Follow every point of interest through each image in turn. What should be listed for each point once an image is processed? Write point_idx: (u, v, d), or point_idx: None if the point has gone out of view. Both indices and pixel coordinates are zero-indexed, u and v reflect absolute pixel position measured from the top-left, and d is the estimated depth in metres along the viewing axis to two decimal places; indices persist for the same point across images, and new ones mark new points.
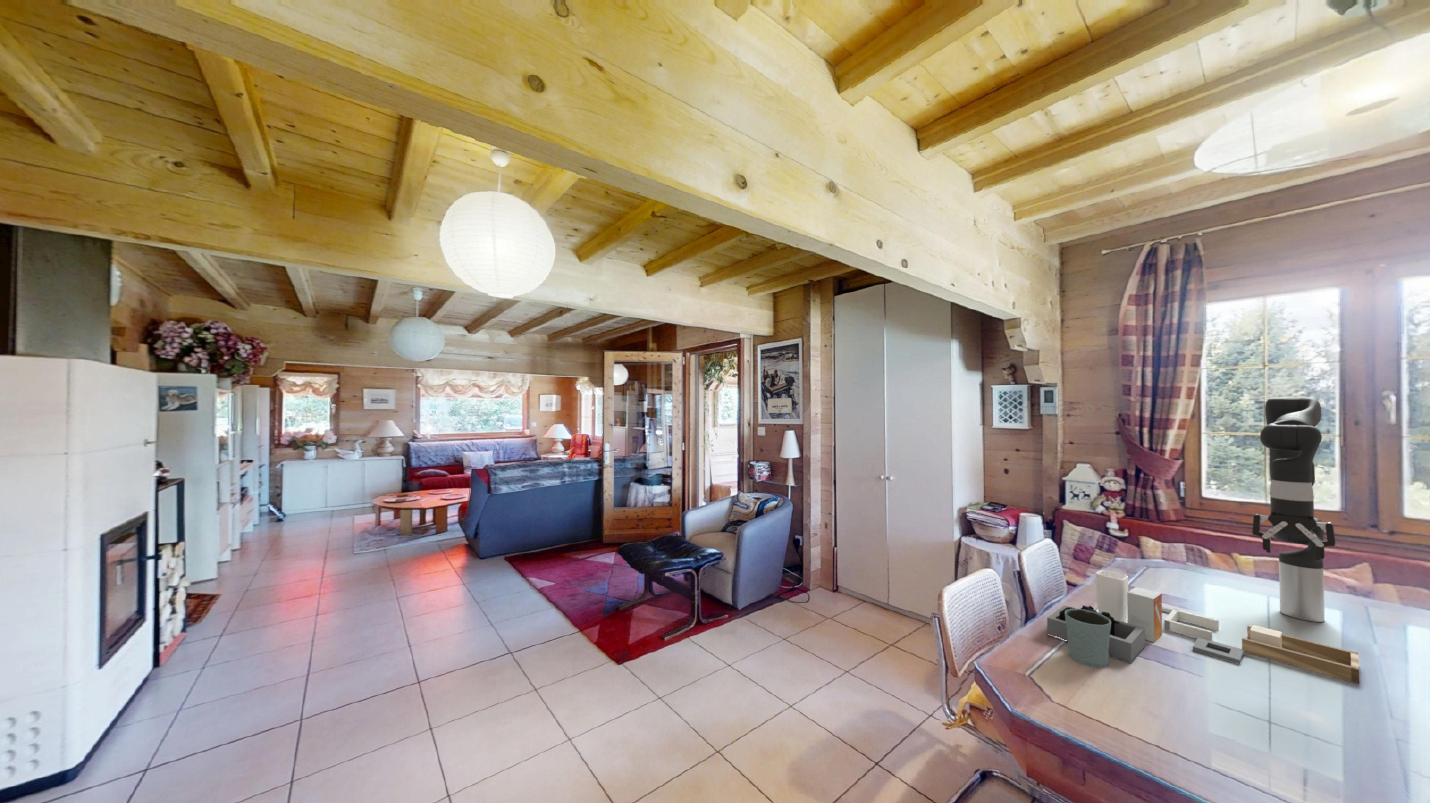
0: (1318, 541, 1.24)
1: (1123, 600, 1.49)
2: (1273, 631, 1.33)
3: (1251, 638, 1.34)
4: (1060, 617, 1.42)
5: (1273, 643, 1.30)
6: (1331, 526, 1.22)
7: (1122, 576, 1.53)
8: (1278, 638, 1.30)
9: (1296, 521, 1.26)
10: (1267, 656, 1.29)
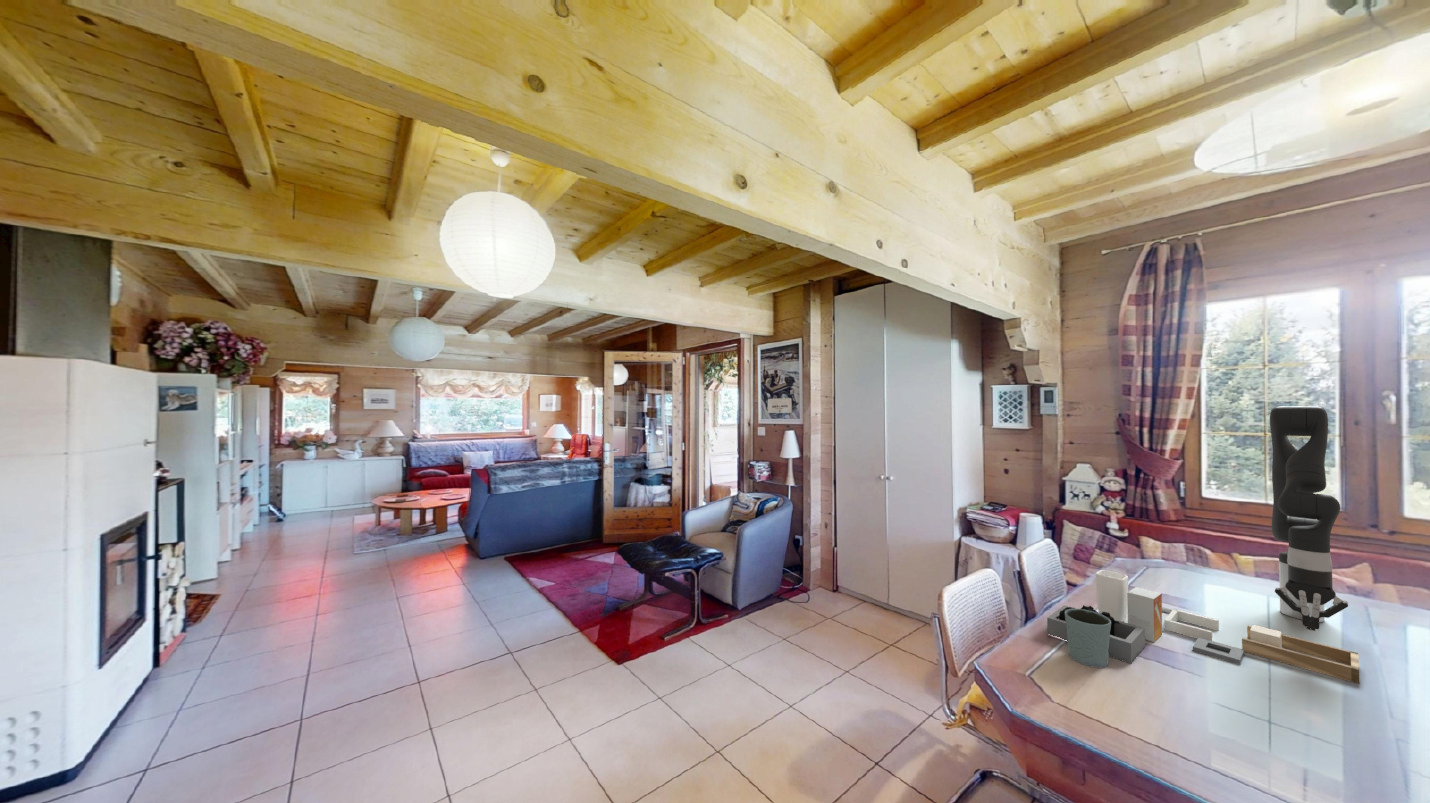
0: (1317, 612, 1.25)
1: (1123, 600, 1.49)
2: (1273, 631, 1.33)
3: (1251, 638, 1.34)
4: (1060, 617, 1.42)
5: (1273, 643, 1.30)
6: (1345, 606, 1.22)
7: (1122, 576, 1.53)
8: (1278, 638, 1.30)
9: (1314, 590, 1.26)
10: (1267, 656, 1.29)
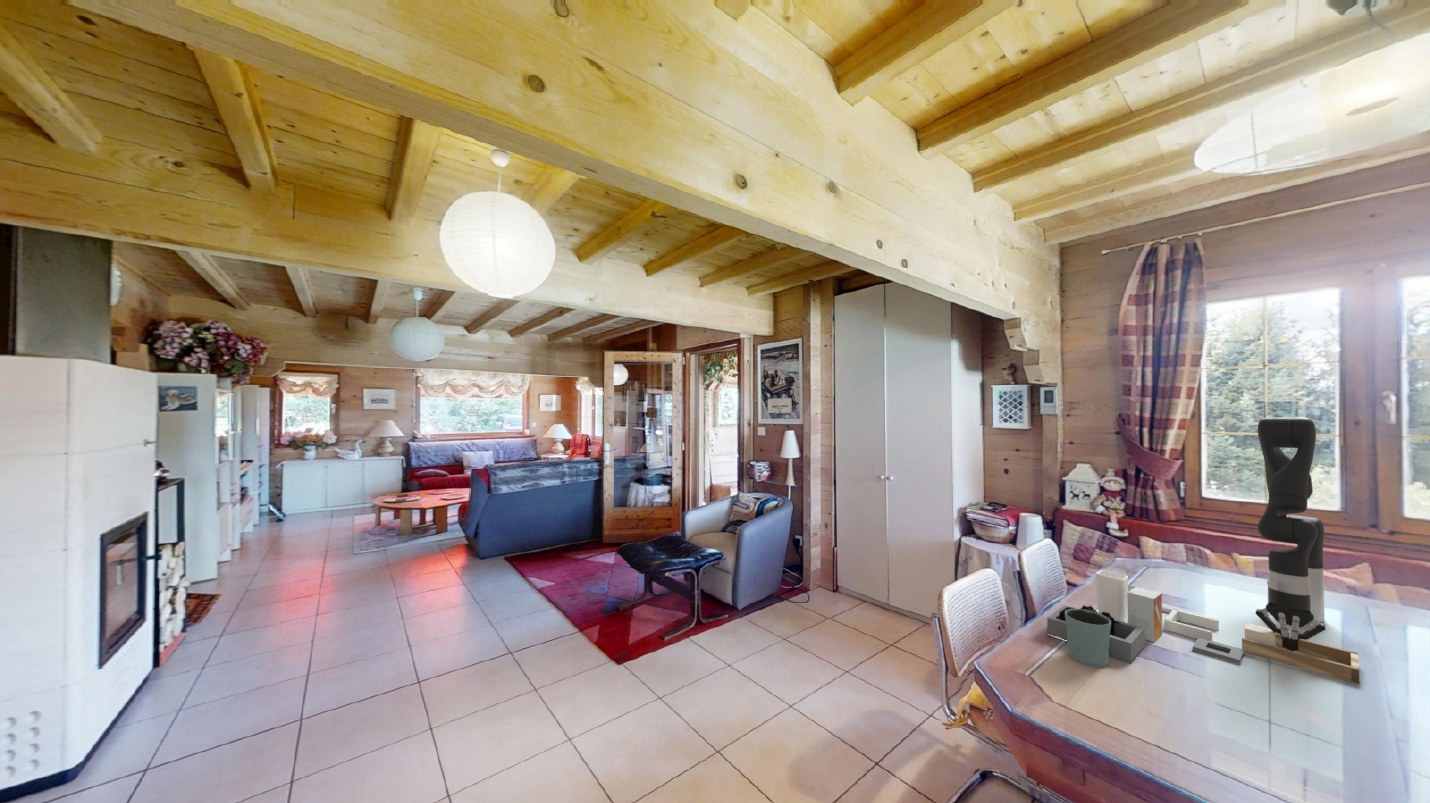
0: (1296, 634, 1.28)
1: (1123, 600, 1.49)
2: (1267, 629, 1.34)
3: (1245, 636, 1.34)
4: (1060, 617, 1.42)
5: (1268, 641, 1.31)
6: (1322, 629, 1.25)
7: (1122, 576, 1.53)
8: (1272, 636, 1.30)
9: (1293, 613, 1.29)
10: (1267, 656, 1.29)
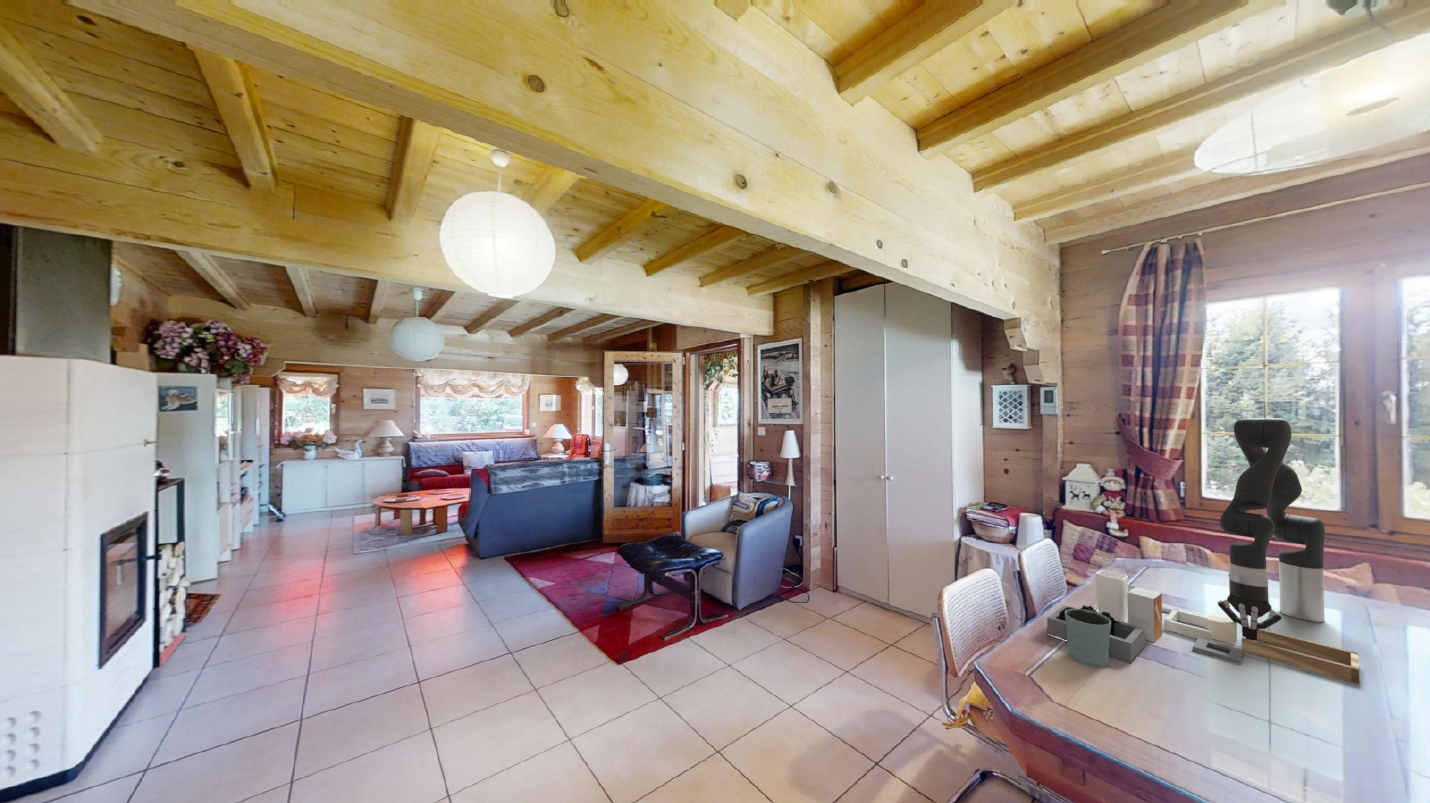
0: (1254, 624, 1.34)
1: (1123, 600, 1.49)
2: (1229, 620, 1.40)
3: (1208, 627, 1.40)
4: (1060, 617, 1.42)
5: (1229, 631, 1.37)
6: (1279, 619, 1.30)
7: (1122, 576, 1.53)
8: (1233, 626, 1.36)
9: (1252, 604, 1.34)
10: (1267, 656, 1.29)
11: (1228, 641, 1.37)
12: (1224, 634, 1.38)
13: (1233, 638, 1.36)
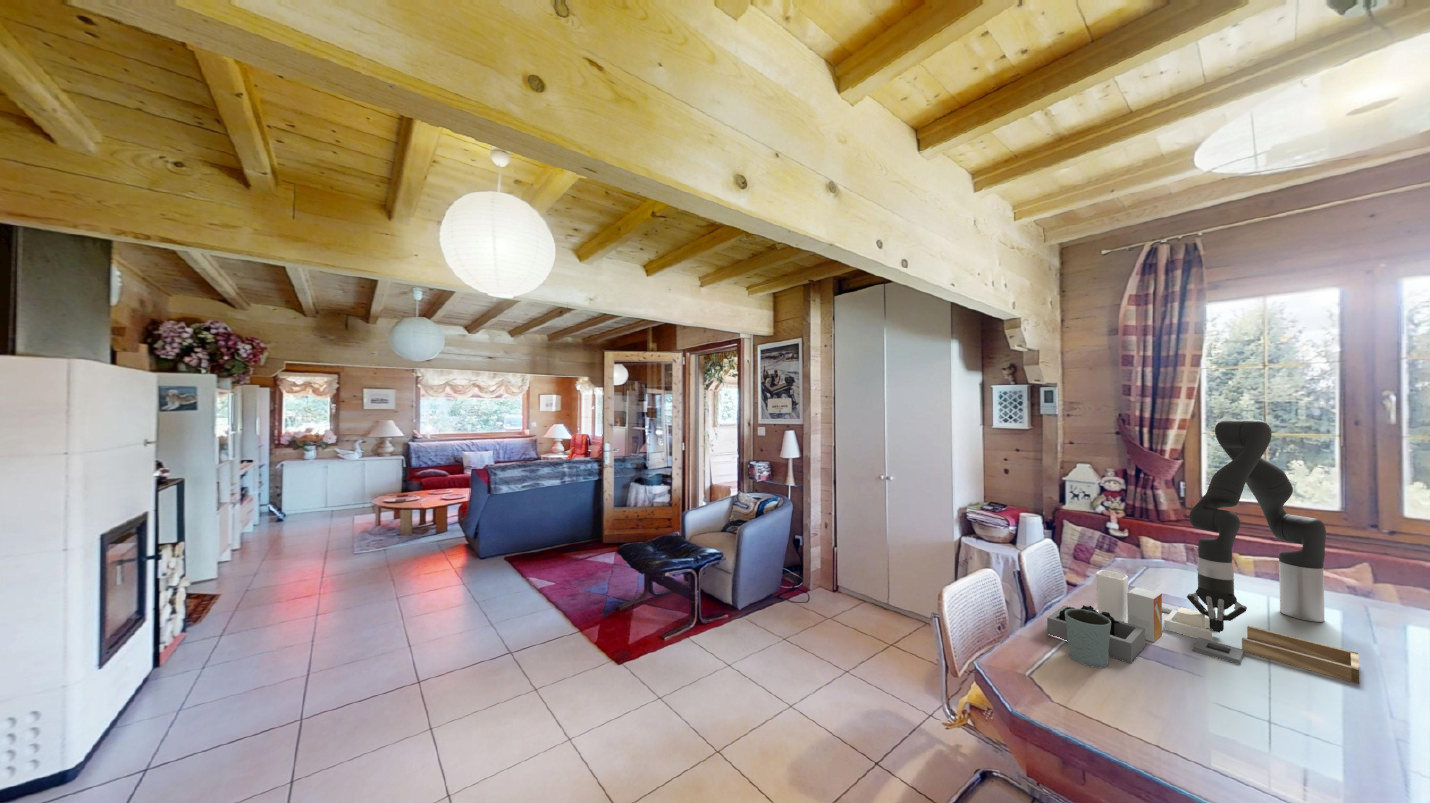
0: (1221, 616, 1.39)
1: (1123, 600, 1.49)
2: (1197, 612, 1.45)
3: (1178, 619, 1.46)
4: (1060, 617, 1.42)
5: (1196, 623, 1.42)
6: (1243, 610, 1.36)
7: (1122, 576, 1.53)
8: (1200, 618, 1.42)
9: (1219, 596, 1.40)
10: (1267, 656, 1.29)
11: None
12: (1192, 625, 1.43)
13: None
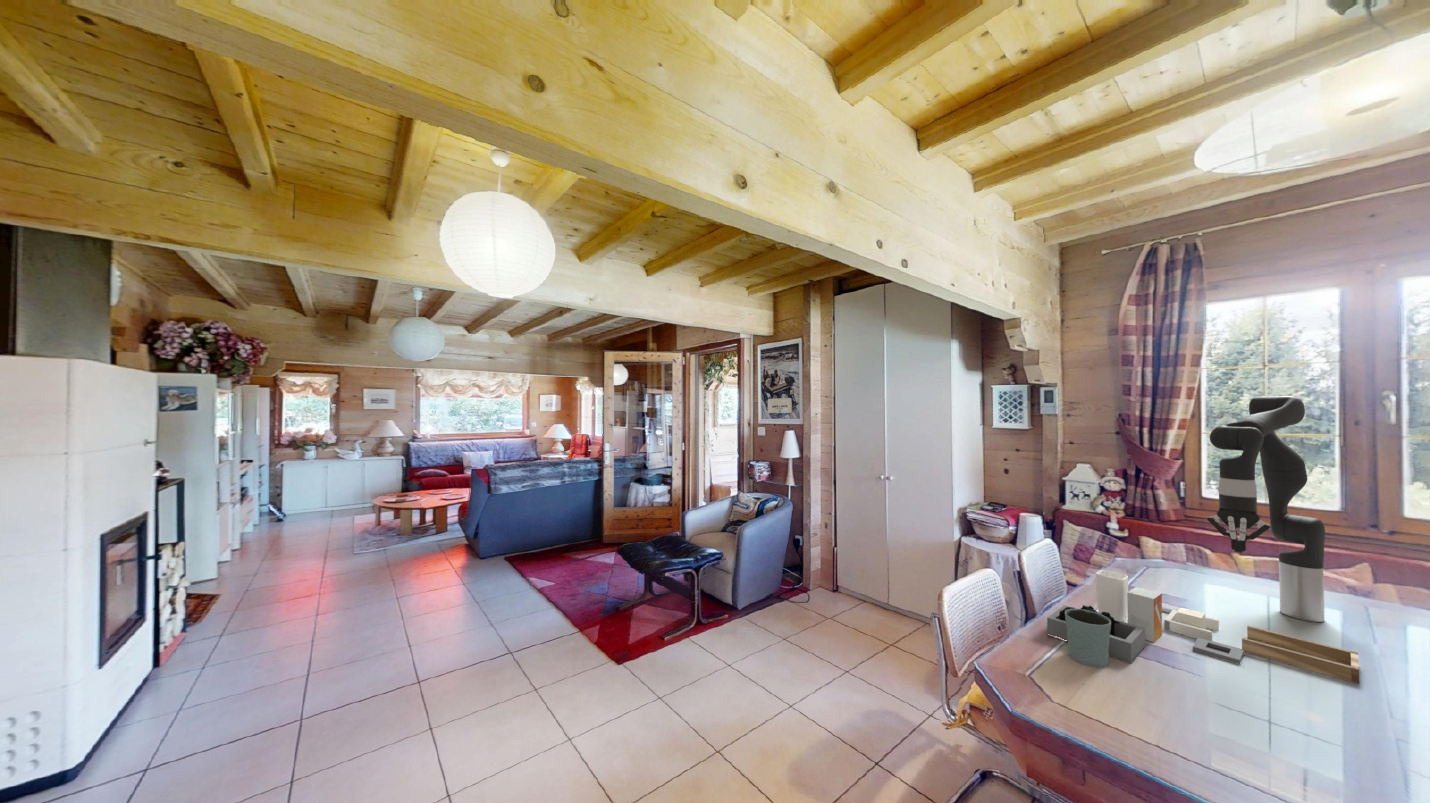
0: (1243, 536, 1.36)
1: (1123, 600, 1.49)
2: (1197, 613, 1.45)
3: (1177, 619, 1.46)
4: (1060, 617, 1.42)
5: (1196, 623, 1.42)
6: (1267, 528, 1.32)
7: (1122, 576, 1.53)
8: (1200, 619, 1.42)
9: (1241, 516, 1.36)
10: (1267, 656, 1.29)
11: None
12: None
13: None
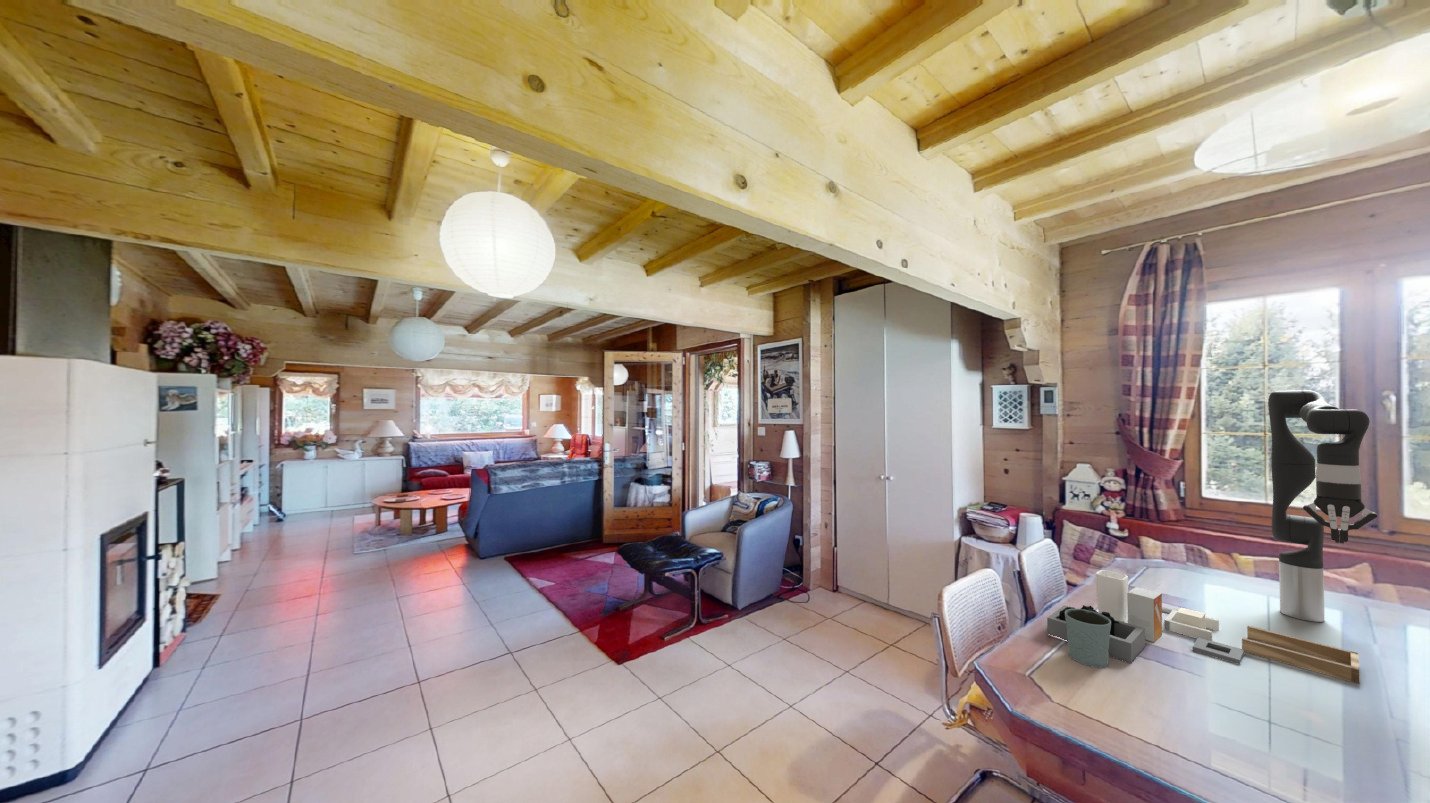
0: (1345, 525, 1.28)
1: (1123, 600, 1.49)
2: (1197, 613, 1.45)
3: (1178, 619, 1.46)
4: (1060, 617, 1.42)
5: (1196, 623, 1.42)
6: (1374, 516, 1.24)
7: (1122, 576, 1.53)
8: (1200, 619, 1.42)
9: (1343, 504, 1.28)
10: (1267, 656, 1.29)
11: None
12: None
13: None
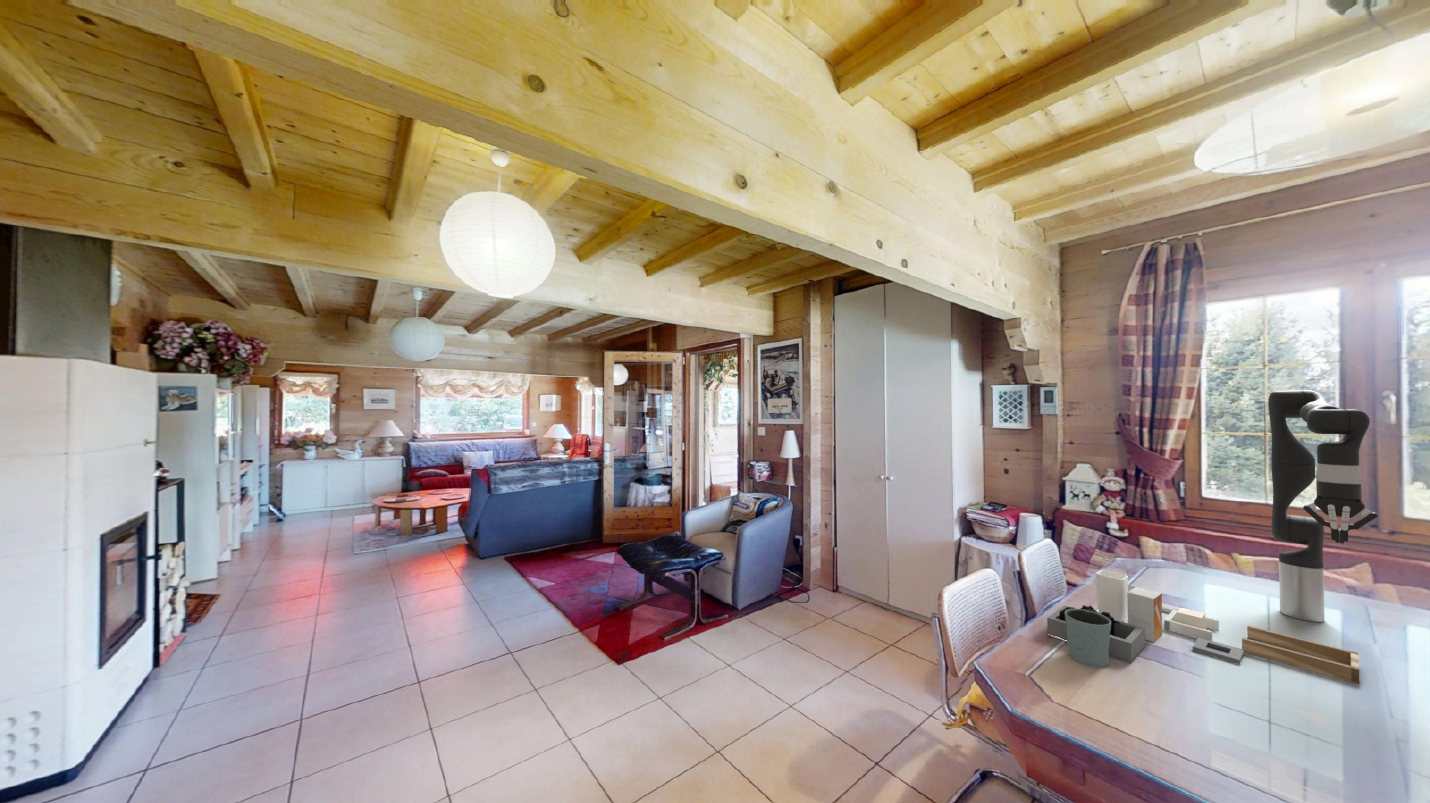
0: (1346, 525, 1.28)
1: (1123, 600, 1.49)
2: (1197, 613, 1.45)
3: (1178, 619, 1.46)
4: (1060, 617, 1.42)
5: (1196, 623, 1.42)
6: (1374, 516, 1.24)
7: (1122, 576, 1.53)
8: (1200, 619, 1.42)
9: (1343, 504, 1.28)
10: (1267, 656, 1.29)
11: None
12: None
13: None
